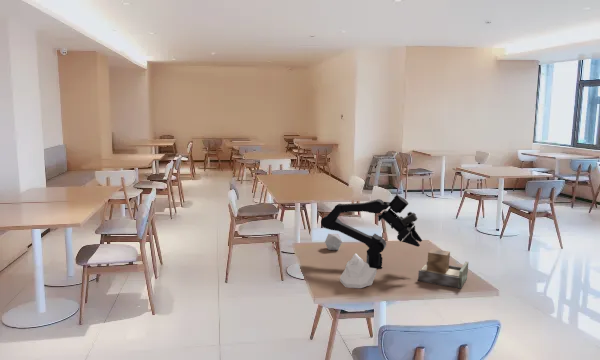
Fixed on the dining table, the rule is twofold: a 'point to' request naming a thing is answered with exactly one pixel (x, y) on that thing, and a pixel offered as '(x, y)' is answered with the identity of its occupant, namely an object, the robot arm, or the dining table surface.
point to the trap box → (445, 276)
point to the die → (333, 241)
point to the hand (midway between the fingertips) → (420, 243)
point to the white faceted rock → (357, 273)
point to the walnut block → (438, 260)
